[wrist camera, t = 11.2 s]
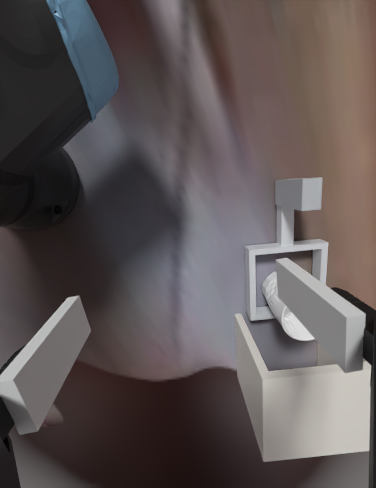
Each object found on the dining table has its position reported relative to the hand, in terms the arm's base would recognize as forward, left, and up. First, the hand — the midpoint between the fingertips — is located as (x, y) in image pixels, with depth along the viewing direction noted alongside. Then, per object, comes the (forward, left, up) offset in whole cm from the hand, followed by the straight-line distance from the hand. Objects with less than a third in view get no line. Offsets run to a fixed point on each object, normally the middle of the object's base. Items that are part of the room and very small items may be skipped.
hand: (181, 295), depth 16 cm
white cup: (+13, +17, -25) cm, 33 cm away
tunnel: (+24, +17, -25) cm, 39 cm away
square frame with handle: (+5, +17, -24) cm, 30 cm away
